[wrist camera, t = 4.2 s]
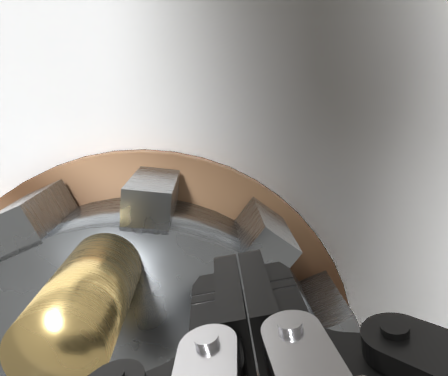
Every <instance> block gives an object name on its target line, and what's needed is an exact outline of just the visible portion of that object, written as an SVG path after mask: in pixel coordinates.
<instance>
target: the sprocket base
mask: <svg viewBox="0 0 448 376" xmlns="http://www.w3.org/2000/svg"><path fill="white" fill-rule="evenodd" d="M140 166H145V167H155V168H165V169H176V170H180V177H179V190H178V200H179V201H184V202H189V203H193V204H196V205H199V206H202V207H205V208H208V209H211V210H214V211H217V212H219V213H221V214H223V215H225V216H227V217H229V218H231V219H233V220H235V219H236V218H237V217H238V216H239V214H240V213H241V212H242V210H243V209H244V208H245V206H246V205H247V204H248V203H249V201H250V200H251V199H252V197H254V198H256V199H257V200H259V201H260V202H262V203H263V204H264V205H266V206H267V207H269V208H270V209H271V210H273V211H274V212H276V213H277V214H279V215H280V216H281V217H283V219H284V221H285V222H286V224H287V226H288V228H289V229H290V231H291V233H292V235H293V236H294V238H295V240H296V242H297V243H298V245H299V247H300V249H301V250H302V252H303V253H302V254H301V256H300V257H299V258H298V259H297V260H296V262H295V263H294V264H293V265H292V266H291V268H290V269H291V270H292V272H293V273H294V275H295V276H296V278H297V279H298V281H301V280H303V279H306V278H308V277H311V276H313V275H315V274H318V273H320V272H323V271H325V270H326V272H327V273H328V275H329V276H330V278H331V279H332V281H333V283H334V284H335V286H336V287H337V289H338V290H339V292H340V294H341V295H342V297H343V298H344V300H345V301H346V303H347V305H348V301H347V297H346V293H345V289H344V285H343V283H342V281H341V278H340V276H339V274H338V271H337V269H336V266H335V264H334V262H333V260H332V259H331V257H330V255H329V254H328V252H327V251H326V249H325V247H324V246H323V244H322V242H321V241H320V239H319V238H318V237H317V235H316V234H315V233H314V231H313V230H312V229H311V228H310V227H309V225H308V224H307V223H306V222H305V221H304V219H303V218H302V217H301V216H300V215H299V213H298V212H296V211H295V210H294V209H293V208H292V207H291V206H290V205H289V204H288V203H286V202H285V201H284V200H283V199H282V198H281V197H280V196H279V195H277V194H276V193H274V192H273V191H271V190H270V189H268V188H267V187H265V186H264V185H263V184H261V183H260V182H258V181H257V180H255V179H253V178H251V177H249V176H247V175H245V174H243V173H241V172H239V171H237V170H235V169H233V168H231V167H228V166H226V165H223V164H220V163H217V162H214V161H211V160H208V159H205V158H202V157H197V156H193V155H188V154H183V153H178V152H172V151H159V150H146V149H142V150H122V151H112V152H106V153H101V154H95V155H90V156H85V157H82V158H79V159H76V160H73V161H70V162H66V163H63V164H60V165H58V166H55V167H53V168H51V169H49V170H47V171H45V172H43V173H41V174H39V175H37V176H35V177H33V178H31V179H29V180H27V181H25V182H23V183H22V184H20V185H19V186H17V187H16V188H14V189H13V190H11V191H10V192H8V193H7V194H5V195H4V196H2V197H1V198H0V210H2V209H4V208H5V207H7V206H9V205H10V204H12V203H14V202H15V201H17V200H19V199H20V198H22V197H24V196H26V195H27V194H29V193H32V192H34V191H36V190H38V189H40V188H43V187H45V186H47V185H49V184H51V183H54V182H56V181H58V180H60V179H62V180H63V181H64V183H65V185H66V187H67V188H68V190H69V192H70V194H71V195H72V197H73V199H74V201H75V202H76V204H77V206H81V205H84V204H87V203H91V202H95V201H101V200H106V199H112V198H120V197H121V188H122V187H123V186H124V185H125V184H126V183H127V181H128V180H129V179H130V178H131V177H132V176H133V174H134V173H135V172H136V171H137V170H138V169H139V167H140ZM348 306H349V305H348Z"/></svg>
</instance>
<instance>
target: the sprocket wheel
mask: <svg viewBox="0 0 448 376" xmlns="http://www.w3.org/2000/svg"><path fill="white" fill-rule="evenodd" d="M179 177H180V170H176V169H165V168H155V167H145V166H140V167H139V169H138V170H137V171H136V172H135V173H134V174H133V176H132V177H131V178H130V179H129V180H128V181H127V183H126V184H125V185H124V186H123V187H122V188H121V197H120V198H112V199H106V200H101V201H95V202H91V203H87V204H84V205H81V206H77V204H76V202H75V201H74V199H73V197H72V195H71V194H70V192H69V190H68V188H67V187H66V185H65V183H64V181H63V180H62V179H60V180H58V181H56V182H54V183H51V184H49V185H47V186H45V187H43V188H40V189H38V190H36V191H34V192H32V193H29V194H27V195H26V196H24V197H22V198H20V199H19V200H17V201H15V202H14V203H12V204H10V205H9V206H7V207H5V208H4V209H2V210H0V376H88V375H90V374H91V373H92V372H93V371H95V370H96V369H97V368H99V367H101V366H102V365H104V364H106V363H109V362H111V361H114V360H118V359H134V360H137V361H139V362H140V363H141V364H142V365H143V367H144V369H145V372H146V371H148V370H150V369H153V368H155V367H158V366H160V365H162V364H164V363H166V362H168V361H170V360H171V359H173V358H174V357H176V353H177V348H178V345H179V342H180V341H181V339H182V338H183V337H184V336H185V335H186V334H187V333H188V332H189V322H190V309H191V297H192V285H193V284H194V283H195V281H196V280H197V279H198V277H199V276H202V275H207V274H213V273H214V258H215V257H221V256H226V255H232V254H236V257H237V263H238V268H239V274H240V279H241V284H242V290H243V295H244V301H245V306H246V312H247V318H248V324H249V330H250V336H251V341H252V347H253V353H254V359H255V365H256V371H257V376H260V375H259V370H258V364H257V359H256V353H255V348H254V342H253V337H252V331H251V326H250V321H249V315H248V309H247V303H246V298H245V292H244V286H243V280H242V275H241V269H240V263H239V258H238V253H243V252H248V251H254V250H259V249H260V251H261V254H262V258H263V261H264V264H268V263H273V262H281V263H282V264H284V265H286V266H287V267H289V268H291V266H292V265H293V264H294V263H295V262H296V260H297V259H298V258H299V257H300V256H301V254H302V253H303V252H302V250H301V249H300V247H299V245H298V243H297V242H296V240H295V238H294V236H293V235H292V233H291V231H290V229H289V228H288V226H287V224H286V222H285V221H284V219H283V217H281V216H280V215H279V214H277V213H276V212H274V211H273V210H271V209H270V208H269V207H267V206H266V205H264V204H263V203H262V202H260V201H259V200H257V199H256V198H254V197H252V199H251V200H250V201H249V203H248V204H247V205H246V206H245V208H244V209H243V210H242V212H241V213H240V214H239V216H238V217H237V218H236V219H235V220H233V219H231V218H229V217H227V216H225V215H223V214H221V213H219V212H217V211H214V210H211V209H208V208H205V207H202V206H199V205H196V204H193V203H189V202H184V201H179V200H178V190H179ZM290 271H291V273H292V275H293V278H294V280H295V282H296V284H297V286H298V289H299V291H300V293H301V295H302V298H303V300H304V302H305V304H306V307H307V309H308V311H309V313H311V314H312V315H314V316H315V317H316V318H318V320H319V321H320V323H321V324H322V326H323V327H325V328H327V329H330V330H334V331H340V332H356V333H360V327H359V325H358V322H357V320H356V317H355V315H354V314H353V312H352V311H351V309H350V308H349V306H348V305H347V303H346V301H345V300H344V298H343V297H342V295H341V294H340V292H339V290H338V289H337V287H336V286H335V284H334V283H333V281H332V279H331V278H330V276H329V275H328V273H327V272H326V270H325V271H323V272H320V273H318V274H315V275H313V276H311V277H308V278H306V279H303V280H301V281H298V279H297V278H296V276H295V275H294V273H293V272H292V270H291V269H290Z"/></svg>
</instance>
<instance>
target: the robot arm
mask: <svg viewBox="0 0 448 376" xmlns="http://www.w3.org/2000/svg"><path fill="white" fill-rule="evenodd" d="M238 258H239V263H240V269H241V275H242V280H243V286H244V292H245V298H246V303H247V309H248V315H249V321H250V326H251V331H252V337H253V342H254V348H255V353H256V359H257V364H258V370H259V375H260V376H448V329H446V328H443V327H440V326H437V325H435V324H432V323H429V322H426V321H423V320H420V319H417V318H414V317H412V316H408V315H405V314H400V313H380V314H376V315H373V316H371V317H369V318H367V319H366V320H365V321H364V322H363V323H362V325H361V328H360V333H356V332H340V331H334V330H330V329H327V328H325V327H323V326H322V324H321V323H320V321H319V320H318V318H316V317H315V316H314V315H312V314H311V313H309V311H308V309H307V307H306V304H305V302H304V300H303V298H302V295H301V293H300V291H299V289H298V286H297V284H296V282H295V280H294V278H293V275H292V273H291V271H290V268H289V267H287V266H286V265H284V264H282V263H281V262H273V263H268V264H264V261H263V258H262V254H261V251H260V249H259V250H254V251H248V252H243V253H238ZM88 376H257V371H256V365H255V359H254V353H253V347H252V341H251V336H250V330H249V324H248V318H247V312H246V306H245V301H244V295H243V290H242V284H241V279H240V274H239V268H238V263H237V257H236V254H232V255H226V256H221V257H215V258H214V273H213V274H207V275H202V276H199V277H198V279H197V280H196V281H195V283H194V284H193V285H192V297H191V309H190V322H189V332H188V333H187V334H186V335H185V336H184V337H183V338H182V339H181V341H180V342H179V345H178V348H177V353H176V357H174V358H173V359H171V360H170V361H168V362H166V363H164V364H162V365H160V366H158V367H155V368H153V369H150V370H148V371H146V372H145V369H144V367H143V365H142V364H141V363H140V362H139V361H137V360H134V359H118V360H114V361H111V362H109V363H106V364H104V365H102V366H101V367H99V368H97V369H96V370H95V371H93V372H92V373H91V374H90V375H88Z"/></svg>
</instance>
